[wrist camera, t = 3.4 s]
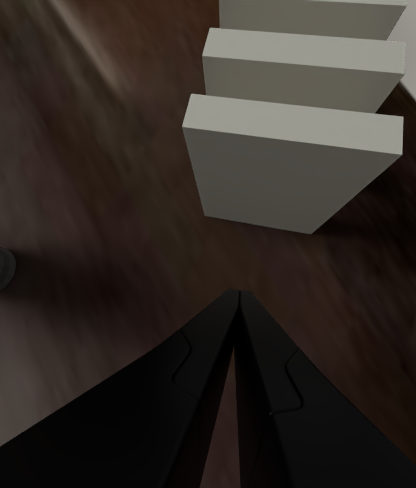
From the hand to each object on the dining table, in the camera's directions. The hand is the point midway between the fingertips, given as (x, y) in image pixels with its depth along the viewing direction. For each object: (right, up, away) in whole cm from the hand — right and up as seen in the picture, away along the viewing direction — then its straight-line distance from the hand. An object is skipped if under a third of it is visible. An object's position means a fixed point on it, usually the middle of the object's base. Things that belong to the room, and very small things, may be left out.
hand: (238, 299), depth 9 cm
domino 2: (+5, +9, +15) cm, 18 cm away
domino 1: (+4, +5, +14) cm, 15 cm away
